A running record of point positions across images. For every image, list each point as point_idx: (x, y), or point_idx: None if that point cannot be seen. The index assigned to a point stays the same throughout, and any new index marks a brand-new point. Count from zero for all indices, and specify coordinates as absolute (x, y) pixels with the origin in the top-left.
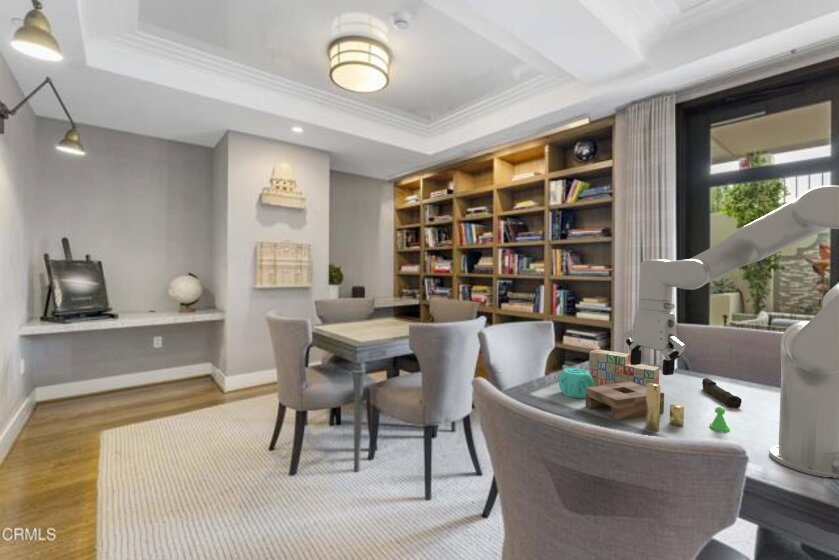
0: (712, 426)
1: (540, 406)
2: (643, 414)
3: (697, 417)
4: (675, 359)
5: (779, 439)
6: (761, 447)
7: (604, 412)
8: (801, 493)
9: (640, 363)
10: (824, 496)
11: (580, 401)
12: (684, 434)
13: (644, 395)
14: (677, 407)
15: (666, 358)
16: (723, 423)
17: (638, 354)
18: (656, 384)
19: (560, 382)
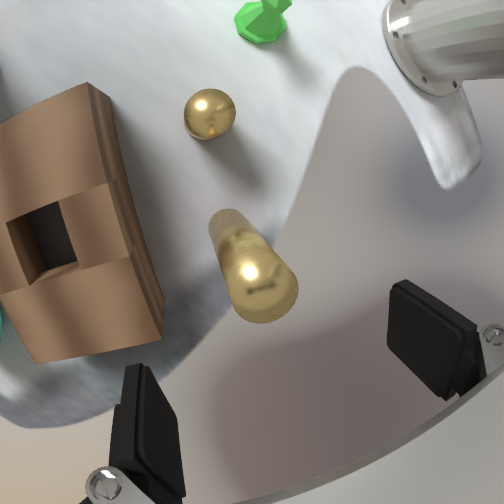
0: (260, 40)
1: (80, 416)
2: (129, 192)
3: (167, 15)
4: (489, 334)
5: (436, 60)
6: (368, 40)
7: None
8: (472, 167)
9: (148, 369)
10: (478, 144)
11: None
12: (279, 157)
13: (104, 196)
14: (222, 120)
15: (463, 393)
16: (280, 17)
17: (158, 448)
18: (264, 274)
19: None
